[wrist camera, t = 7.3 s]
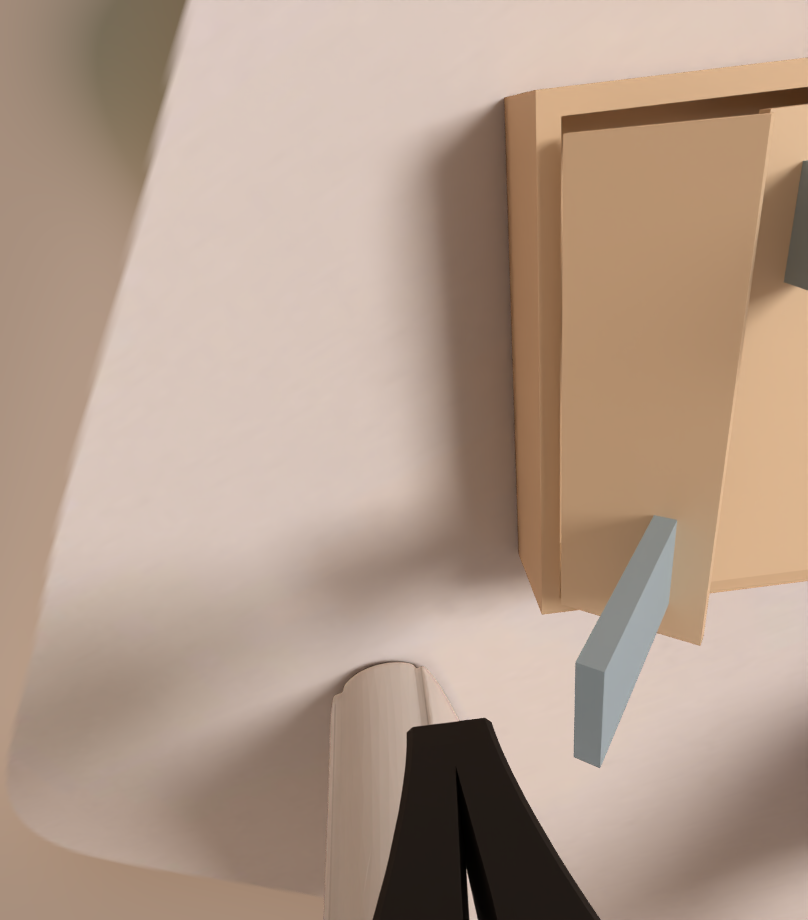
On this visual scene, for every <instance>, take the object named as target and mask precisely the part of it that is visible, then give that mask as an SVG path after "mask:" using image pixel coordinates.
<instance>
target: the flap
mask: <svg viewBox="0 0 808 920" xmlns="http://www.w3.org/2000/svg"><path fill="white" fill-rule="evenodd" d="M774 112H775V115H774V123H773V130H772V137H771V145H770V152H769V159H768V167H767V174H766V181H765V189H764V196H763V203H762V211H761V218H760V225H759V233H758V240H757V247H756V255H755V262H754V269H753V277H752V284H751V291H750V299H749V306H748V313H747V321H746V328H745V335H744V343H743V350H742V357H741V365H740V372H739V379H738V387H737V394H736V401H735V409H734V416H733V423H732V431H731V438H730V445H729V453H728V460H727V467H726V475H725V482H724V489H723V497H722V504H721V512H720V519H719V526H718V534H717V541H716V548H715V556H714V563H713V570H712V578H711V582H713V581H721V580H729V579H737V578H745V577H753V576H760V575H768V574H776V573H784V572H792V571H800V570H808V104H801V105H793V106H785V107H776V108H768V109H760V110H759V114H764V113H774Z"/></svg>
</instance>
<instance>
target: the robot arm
mask: <svg viewBox="0 0 808 920" xmlns="http://www.w3.org/2000/svg"><path fill="white" fill-rule="evenodd" d="M466 869H467V872H466ZM467 874H468V878H469V883H470V887H471V892H472V896H473V901H474V905H475V910H476V914H477V919H478V920H600V918H599V917H598V915H597V914H596V912H595V911H594V909H593V908H592V906H591V905H590V903H589V902H588V900H587V899H586V897H585V896H584V894H583V893H582V891H581V890H580V888H579V887H578V885H577V884H576V882H575V881H574V879H573V877H572V876H571V874H570V873H569V871H568V870H567V868H566V866H565V865H564V863H563V862H562V860H561V858H560V857H559V855H558V854H557V852H556V850H555V849H554V847H553V845H552V844H551V842H550V840H549V838H548V837H547V835H546V833H545V832H544V830H543V828H542V826H541V825H540V823H539V821H538V820H537V818H536V816H535V814H534V813H533V811H532V809H531V807H530V805H529V804H528V802H527V800H526V798H525V796H524V794H523V792H522V790H521V788H520V787H519V785H518V783H517V781H516V779H515V777H514V775H513V773H512V771H511V769H510V766H509V764H508V762H507V760H506V758H505V756H504V753H503V751H502V749H501V747H500V744H499V742H498V739H497V737H496V734H495V731H494V728H493V725H492V722H490V721H489V720H487V719H486V718H480V719H472V720H464V721H456V722H448V723H440V724H432V725H424V726H416V727H412V728H411V729H410V730H409V731H408V732H407V748H406V762H405V772H404V780H403V787H402V793H401V800H400V806H399V812H398V816H397V821H396V826H395V831H394V836H393V840H392V845H391V850H390V855H389V859H388V863H387V867H386V871H385V875H384V879H383V883H382V886H381V890H380V894H379V898H378V901H377V905H376V909H375V912H374V916H373V920H469V904H468V888H467Z"/></svg>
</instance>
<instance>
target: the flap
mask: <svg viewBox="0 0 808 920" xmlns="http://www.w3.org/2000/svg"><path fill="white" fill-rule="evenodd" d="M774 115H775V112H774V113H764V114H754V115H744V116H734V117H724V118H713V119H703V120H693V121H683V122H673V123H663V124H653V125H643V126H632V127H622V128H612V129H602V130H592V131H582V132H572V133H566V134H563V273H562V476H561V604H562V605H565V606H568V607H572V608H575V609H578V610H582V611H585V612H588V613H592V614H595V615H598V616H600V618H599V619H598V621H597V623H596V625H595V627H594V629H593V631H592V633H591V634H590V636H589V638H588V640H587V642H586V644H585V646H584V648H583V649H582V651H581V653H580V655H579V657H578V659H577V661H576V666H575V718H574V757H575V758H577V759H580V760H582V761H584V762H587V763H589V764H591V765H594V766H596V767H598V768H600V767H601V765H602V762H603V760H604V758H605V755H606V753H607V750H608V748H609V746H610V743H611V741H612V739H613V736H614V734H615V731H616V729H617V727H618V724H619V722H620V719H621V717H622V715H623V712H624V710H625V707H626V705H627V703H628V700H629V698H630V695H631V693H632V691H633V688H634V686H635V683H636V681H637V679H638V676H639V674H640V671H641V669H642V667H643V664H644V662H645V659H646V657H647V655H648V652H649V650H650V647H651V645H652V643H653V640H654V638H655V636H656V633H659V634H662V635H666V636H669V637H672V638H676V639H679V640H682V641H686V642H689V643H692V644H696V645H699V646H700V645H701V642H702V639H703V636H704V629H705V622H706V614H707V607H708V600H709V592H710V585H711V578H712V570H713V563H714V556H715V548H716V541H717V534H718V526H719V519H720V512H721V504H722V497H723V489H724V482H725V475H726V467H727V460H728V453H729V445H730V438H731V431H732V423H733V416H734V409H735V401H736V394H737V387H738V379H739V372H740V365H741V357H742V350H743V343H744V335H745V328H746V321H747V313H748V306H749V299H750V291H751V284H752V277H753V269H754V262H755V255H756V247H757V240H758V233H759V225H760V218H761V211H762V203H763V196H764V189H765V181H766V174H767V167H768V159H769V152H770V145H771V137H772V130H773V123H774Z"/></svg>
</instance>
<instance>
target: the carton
mask: <svg viewBox="0 0 808 920" xmlns="http://www.w3.org/2000/svg"><path fill="white" fill-rule="evenodd" d="M801 104H808V58H800V59H792V60H783V61H775V62H766V63H758V64H750V65H741V66H733V67H725V68H716V69H708V70H699V71H691V72H683V73H674V74H666V75H658V76H649V77H641V78H633V79H624V80H616V81H607V82H599V83H591V84H582V85H574V86H566V87H557V88H549V89H540V90H534V91H530V92H526V93H521V94H517V95H513V96H509V97H505V98H504V107H505V138H506V170H507V202H508V234H509V266H510V298H511V329H512V361H513V393H514V425H515V457H516V488H517V520H518V552H519V556H520V559H521V561H522V564H523V566H524V569H525V572H526V574H527V577H528V579H529V582H530V585H531V587H532V590H533V592H534V595H535V598H536V600H537V603H538V605H539V608H540V611H541V613H542V615H543V614H550V613H558V612H566V611H574V610H578V609H575V608H572V607H568V606H565V605H562V604H561V476H562V273H563V134H566V133H572V132H582V131H592V130H602V129H612V128H622V127H632V126H643V125H653V124H663V123H673V122H683V121H693V120H703V119H713V118H724V117H734V116H744V115H754V114H759V110H760V109H768V108H776V107H785V106H793V105H801ZM803 581H808V570H800V571H792V572H784V573H776V574H768V575H760V576H753V577H745V578H737V579H729V580H721V581H713V582H711V585H710V592H709V593H716V592H724V591H732V590H740V589H748V588H755V587H763V586H771V585H779V584H787V583H795V582H803Z"/></svg>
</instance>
